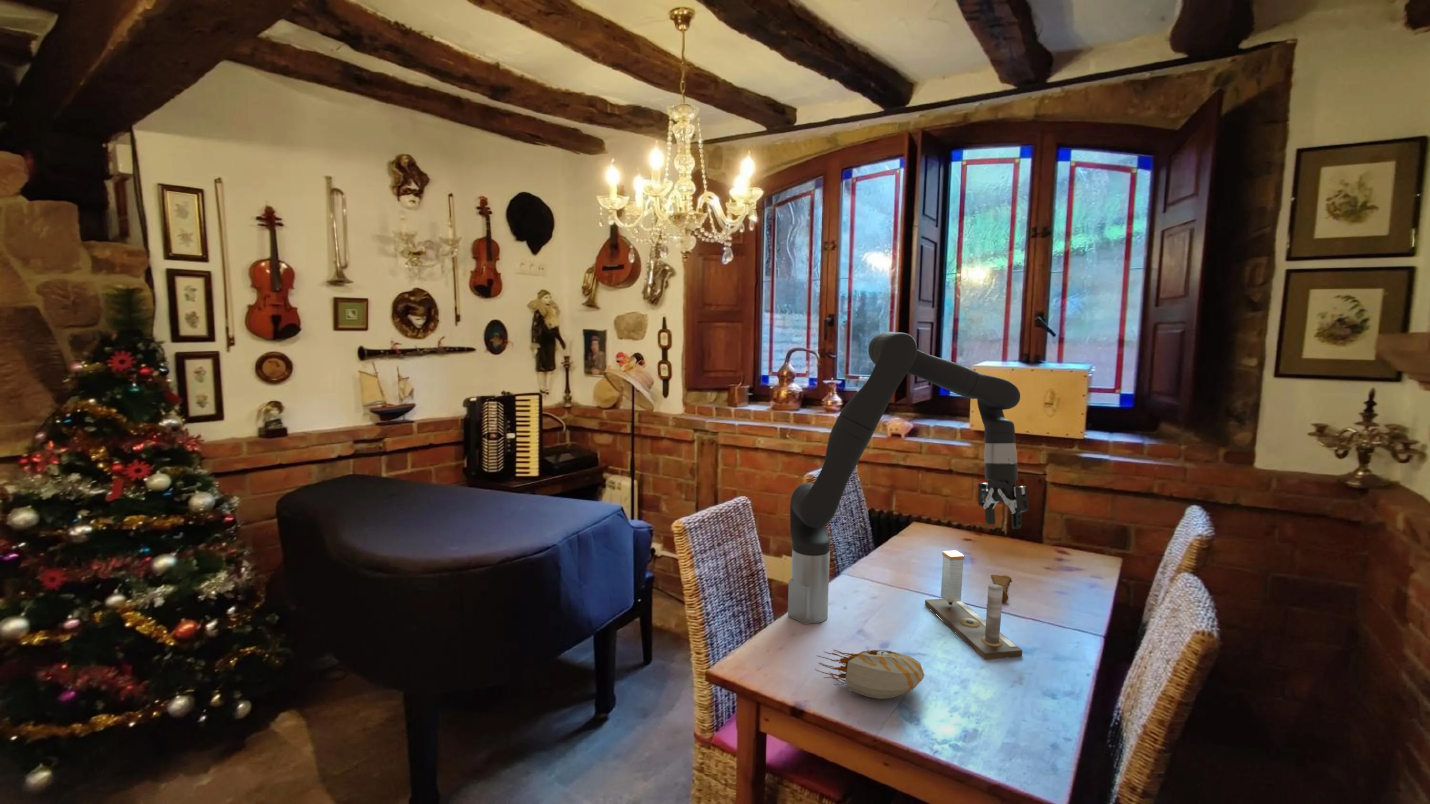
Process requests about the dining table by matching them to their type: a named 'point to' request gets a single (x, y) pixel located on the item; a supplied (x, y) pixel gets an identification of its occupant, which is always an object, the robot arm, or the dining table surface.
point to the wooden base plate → (978, 625)
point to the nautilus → (878, 673)
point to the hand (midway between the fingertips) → (1003, 526)
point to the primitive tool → (1002, 584)
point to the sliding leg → (952, 576)
